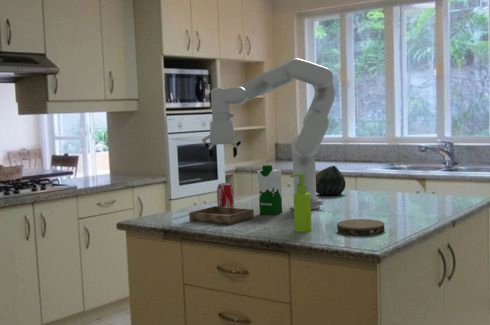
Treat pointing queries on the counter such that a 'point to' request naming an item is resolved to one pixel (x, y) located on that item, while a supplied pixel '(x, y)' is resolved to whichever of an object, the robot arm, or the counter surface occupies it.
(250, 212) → the walnut tray
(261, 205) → the milk carton
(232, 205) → the soda can
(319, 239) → the counter surface
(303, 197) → the soap dispenser
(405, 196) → the counter surface
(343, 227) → the brown round disc
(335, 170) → the squash
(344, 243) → the counter surface
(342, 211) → the counter surface
